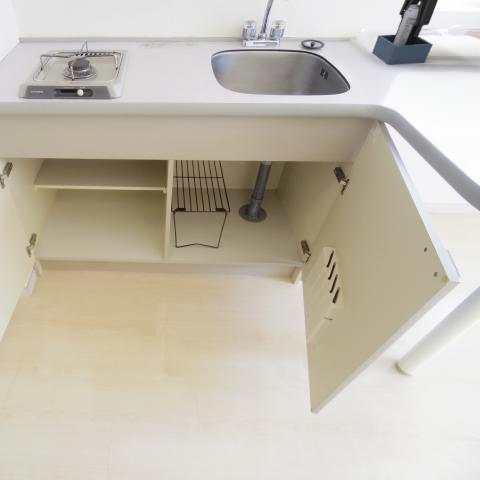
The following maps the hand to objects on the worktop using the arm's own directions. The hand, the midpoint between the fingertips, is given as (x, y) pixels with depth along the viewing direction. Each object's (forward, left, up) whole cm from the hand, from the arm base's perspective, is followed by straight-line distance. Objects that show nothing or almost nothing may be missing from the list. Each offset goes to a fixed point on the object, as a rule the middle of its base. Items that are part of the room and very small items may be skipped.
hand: (403, 43), depth 122 cm
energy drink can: (0, 0, -4) cm, 4 cm away
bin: (0, 0, -5) cm, 5 cm away
